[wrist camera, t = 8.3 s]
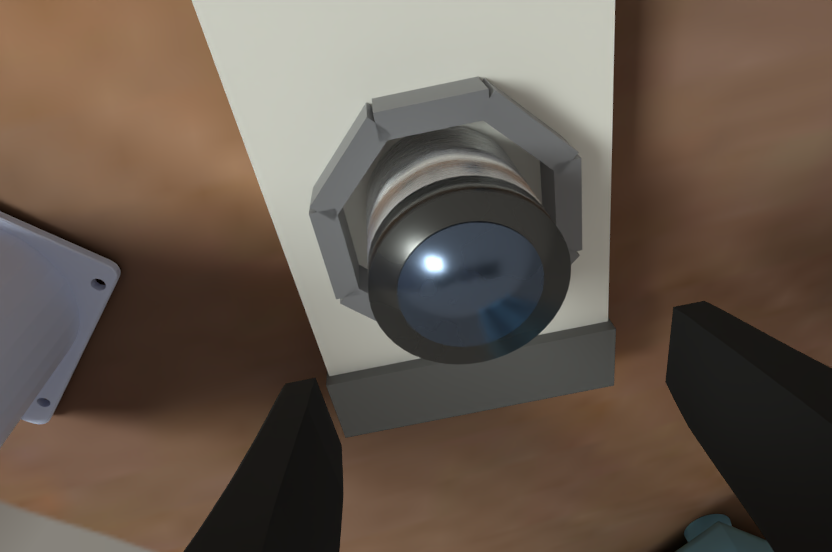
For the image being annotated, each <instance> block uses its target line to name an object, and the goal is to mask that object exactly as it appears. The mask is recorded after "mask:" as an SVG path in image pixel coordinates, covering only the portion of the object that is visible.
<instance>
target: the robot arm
mask: <svg viewBox="0 0 832 552" xmlns="http://www.w3.org/2000/svg"><path fill="white" fill-rule="evenodd" d="M120 274H121V271H120V268H119V266H118V265H117V264H116V263H115V262H113V261H111V260H109V259H107V258H105V257H102V256H100V255H98V254H96V253H93V252H91V251H89V250H87V249H84V248H82V247H80V246H78V245H75V244H73V243H71V242H69V241H66V240H64V239H62V238H59V237H57V236H55V235H53V234H50V233H48V232H46V231H44V230H41V229H39V228H37V227H35V226H32V225H30V224H28V223H25V222H23V221H21V220H19V219H16V218H14V217H12V216H10V215H7V214H5V213H3V212H1V211H0V448H1V446H2V445H3V443H4V442H5V440H6V439H7V438H8V436H9V435H10V433H11V432H12V431H13V429H14V428H15V426H16V425H17V423H18V422H19V421H20V419H22V420H25V421H28V422H31V423H34V424H45V423H47V422H48V421H49V420H50V419H51V417H52V416H53V414H54V412H55V410H56V408H57V406H58V404H59V401H60V399H61V397H62V395H63V393H64V391H65V389H66V387H67V385H68V383H69V381H70V379H71V377H72V375H73V372H74V370H75V368H76V366H77V364H78V362H79V360H80V358H81V356H82V354H83V352H84V350H85V348H86V346H87V344H88V341H89V339H90V337H91V335H92V333H93V331H94V329H95V327H96V325H97V323H98V321H99V319H100V317H101V315H102V312H103V310H104V308H105V306H106V304H107V302H108V300H109V298H110V296H111V294H112V292H113V290H114V288H115V286H116V284H117V281H118V279H119V277H120ZM95 279H101V280H102V281H104V283H105V284H106V285H102V284H99V283H98V282H97V281H96V280H95ZM666 384H667V386H668V388H669V390H670V392H671V394H672V396H673V398H674V400H675V402H676V404H677V406H678V408H679V410H680V412H681V413H682V415H683V417H684V419H685V421H686V423H687V425H688V426H689V428H690V430H691V431H692V433H693V434H694V436H695V437H696V439H697V440H698V442H699V443H700V444H701V446H702V447H703V449H704V450H705V452H706V453H707V455H708V456H709V458H710V459H711V460H712V462H713V463H714V465H715V466H716V468H717V469H718V471H719V472H720V473H721V475H722V476H723V478H724V479H725V481H726V482H727V483H728V485H729V486H730V488H731V489H732V491H733V492H734V493H735V495H736V496H737V498H738V499H739V501H740V502H741V504H742V505H743V506H744V508H745V509H746V511H747V512H748V514H749V515H750V516H751V518H752V519H753V521H754V522H755V524H756V525H757V526H758V528H759V529H760V531H761V532H762V534H763V535H764V537H765V539H766V540H767V542H768V543H769V545H770V546H771V548H772V550H773V551H774V552H832V368H830V367H828V366H826V365H824V364H822V363H820V362H818V361H816V360H814V359H812V358H810V357H808V356H807V355H805V354H803V353H801V352H799V351H797V350H795V349H793V348H791V347H789V346H788V345H786V344H784V343H782V342H780V341H778V340H776V339H775V338H773V337H771V336H769V335H767V334H765V333H764V332H762V331H760V330H758V329H756V328H754V327H753V326H751V325H749V324H747V323H745V322H743V321H742V320H740V319H738V318H736V317H734V316H732V315H731V314H729V313H727V312H725V311H723V310H721V309H719V308H717V307H716V306H714V305H712V304H710V303H708V302H705V301H702V302H696V303H691V304H686V305H681V306H676V307H673V316H672V326H671V335H670V345H669V354H668V364H667V373H666ZM44 398H45V399H44ZM46 399H47V400H46ZM342 508H343V468H342V447H341V443H340V440H339V438H338V435H337V433H336V430H335V427H334V425H333V422H332V420H331V417H330V414H329V412H328V409H327V407H326V404H325V401H324V399H323V396H322V394H321V391H320V389H319V386H318V383H317V381H316V378H312V379H307V380H302V381H297V382H292V383H286V384H285V385H284V387H283V388H282V390H281V392H280V393H279V395H278V397H277V399H276V401H275V403H274V405H273V407H272V408H271V410H270V412H269V414H268V416H267V418H266V420H265V422H264V423H263V425H262V427H261V429H260V431H259V432H258V434H257V436H256V438H255V440H254V442H253V443H252V445H251V447H250V449H249V450H248V452H247V454H246V455H245V457H244V459H243V460H242V462H241V464H240V466H239V467H238V469H237V471H236V472H235V474H234V476H233V478H232V479H231V481H230V483H229V484H228V486H227V487H226V489H225V490H224V492H223V494H222V495H221V497H220V498H219V500H218V501H217V503H216V504H215V506H214V507H213V509H212V511H211V512H210V514H209V515H208V517H207V518H206V520H205V521H204V523H203V524H202V526H201V527H200V529H199V530H198V532H197V533H196V535H195V536H194V538H193V539H192V540H191V542H190V543H189V545H188V546H187V547H186V549H185V550H184V552H339V548H340V535H341V522H342Z"/></svg>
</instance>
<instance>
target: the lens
mask: <svg viewBox="0 0 832 552" xmlns="http://www.w3.org/2000/svg"><path fill="white" fill-rule="evenodd" d="M366 227H367V265H368V296H369V302H370V306H371V310H372V312H373V315H374V318H375V319H376V321H377V323H378V325H379V326H380V328H381V329H382V331H383V332H384V333H385V334H386V336H387V337H388V338H390V339H391V340H392V341H393V342H394V343H395V344H396V345H398V346H399V347H400V348H402V349H403V350H405V351H407V352H409V353H411V354H412V355H414V356H417V357H420V358H422V359H425V360H429V361H433V362H437V363H444V364H473V363H479V362H485V361H488V360H492V359H496V358H498V357H501V356H504V355H507V354H509V353H511V352H513V351H515V350H517V349H519V348H520V347H522V346H524V345H525V344H527V343H528V342H530V341H531V340H532V339H534V338H535V337H536V336H537V335H539V334H540V333H541V332H542V331H543V330H544V329H545V328H546V327H547V326H548V324H549V323H550V322H551V321H552V320H553V319H554V317H555V316H556V314H557V313H558V311H559V310H560V308H561V306H562V304H563V302H564V300H565V297H566V294H567V291H568V288H569V283H570V278H571V261H570V254H569V250H568V247H567V244H566V242H565V239H564V237H563V235H562V233H561V232H560V230H559V229H558V227H557V226H556V225H555V223H554V222H553V220H552V219H551V217H550V216H549V214H548V213H547V211H546V210H545V208H544V207H543V206H542V204H541V203H540V201H539V200H538V198H537V197H536V195H535V194H534V192H533V191H532V189H531V188H530V187H529V185H528V184H527V182H526V181H525V179H524V178H523V176H522V175H521V173H520V172H519V170H518V169H517V168H516V166H515V165H514V163H513V162H512V160H511V159H510V157H509V156H508V154H507V153H506V152H505V150H504V149H503V148H502V147H501V146H500V145H499V144H498V143H497V142H495V141H494V140H493V139H492V138H490V137H488V136H487V135H485V134H483V133H481V132H479V131H476V130H474V129H471V128H467V127H463V126H454V127H450V128H445V129H440V130H435V131H430V132H425V133H421V134H416V135H411V136H406V137H404V138H402V139H401V140H399V141H398V142H397V143H395V144H394V145H393V146H392V147H391V148H390V149H389V150H388V151H387V152H386V153H385V154H384V155H383V156H382V157H381V159H380V160H379V161H378V163H377V165H376V166H375V168H374V170H373V172H372V174H371V177H370V179H369V183H368V187H367V193H366Z"/></svg>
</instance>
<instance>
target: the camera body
mask: <svg viewBox="0 0 832 552" xmlns="http://www.w3.org/2000/svg"><path fill="white" fill-rule="evenodd" d="M192 2H193V5H194V8H195V10H196V13H197V16H198V19H199V21H200V24H201V27H202V30H203V32H204V35H205V38H206V40H207V43H208V46H209V49H210V51H211V54H212V57H213V60H214V62H215V65H216V68H217V71H218V73H219V76H220V79H221V81H222V84H223V87H224V90H225V92H226V95H227V98H228V101H229V103H230V106H231V109H232V112H233V114H234V117H235V120H236V122H237V125H238V128H239V131H240V133H241V136H242V139H243V142H244V144H245V147H246V150H247V153H248V155H249V158H250V161H251V163H252V166H253V169H254V172H255V174H256V177H257V180H258V183H259V185H260V188H261V191H262V193H263V196H264V199H265V202H266V204H267V207H268V210H269V213H270V215H271V218H272V221H273V224H274V226H275V229H276V232H277V234H278V237H279V240H280V243H281V245H282V248H283V251H284V254H285V256H286V259H287V262H288V265H289V267H290V270H291V273H292V275H293V278H294V281H295V284H296V286H297V289H298V292H299V295H300V297H301V300H302V303H303V306H304V308H305V311H306V314H307V316H308V319H309V322H310V325H311V327H312V330H313V333H314V336H315V338H316V341H317V344H318V347H319V349H320V352H321V355H322V357H323V360H324V363H325V366H326V368H327V382H326V387H327V389H328V392H329V395H330V397H331V400H332V403H333V405H334V408H335V411H336V413H337V416H338V419H339V421H340V424H341V427H342V429H343V432H344V435H345V437H352V436H357V435H362V434H367V433H372V432H377V431H382V430H388V429H393V428H398V427H403V426H408V425H413V424H418V423H423V422H429V421H434V420H439V419H444V418H449V417H454V416H459V415H464V414H470V413H475V412H480V411H485V410H490V409H495V408H500V407H506V406H511V405H516V404H521V403H526V402H531V401H536V400H541V399H547V398H552V397H557V396H562V395H567V394H572V393H577V392H582V391H588V390H593V389H598V388H603V387H608V386H613V385H614V369H615V338H616V328H615V327H614V325H613V324H612V322H611V321H610V319H609V318H608V299H609V255H610V210H611V165H612V121H613V76H614V31H615V0H192ZM454 126H463V127H467V128H471V129H474V130H476V131H479V132H481V133H483V134H485V135H487V136H488V137H490V138H492V139H493V140H494V141H495V142H497V143H498V144H499V145H500V146H501V147H502V148H503V149H504V150H505V152H506V153H507V154H508V156H509V157H510V159H511V160H512V162H513V163H514V165H515V166H516V168H517V169H518V170H519V172H520V173H521V175H522V176H523V178H524V179H525V181H526V182H527V184H528V185H529V187H530V188H531V189H532V191H533V192H534V194H535V195H536V197H537V198H538V200H539V201H540V203H541V204H542V206H543V207H544V208H545V210H546V211H547V213H548V214H549V216H550V217H551V219H552V220H553V222H554V223H555V225H556V226H557V227H558V229H559V230H560V232H561V233H562V235H563V237H564V239H565V242H566V244H567V247H568V250H569V254H570V261H571V278H570V283H569V288H568V291H567V294H566V297H565V300H564V302H563V304H562V306H561V308H560V310H559V311H558V313H557V314H556V316H555V317H554V319H553V320H552V321H551V322H550V323H549V324H548V326H547V327H546V328H545V329H544V330H543V331H542V332H541V333H540V334H539V335H537V336H536V337H535V338H534V339H532V340H531V341H530V342H528V343H527V344H525V345H524V346H522V347H520V348H519V349H517V350H515V351H513V352H511V353H509V354H507V355H504V356H501V357H498V358H496V359H492V360H488V361H485V362H479V363H473V364H444V363H437V362H433V361H429V360H425V359H422V358H420V357H417V356H414V355H412V354H411V353H409V352H407V351H405V350H403V349H402V348H400V347H399V346H398V345H396V344H395V343H394V342H393V341H392V340H391V339H390V338H388V337H387V336H386V334H385V333H384V332H383V331H382V329H381V328H380V326H379V325H378V323H377V321H376V319H375V318H374V315H373V312H372V310H371V306H370V302H369V296H368V265H367V227H366V193H367V187H368V183H369V179H370V177H371V174H372V172H373V170H374V168H375V166H376V165H377V163H378V161H379V160H380V159H381V157H382V156H383V155H384V154H385V153H386V152H387V151H388V150H389V149H390V148H391V147H392V146H393V145H394V144H395V143H397V142H398V141H399V140H401V139H402V138H404V137H406V136H411V135H416V134H421V133H425V132H430V131H435V130H440V129H445V128H450V127H454Z"/></svg>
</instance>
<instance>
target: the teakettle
mask: <svg viewBox="0 0 832 552" xmlns="http://www.w3.org/2000/svg"><path fill="white" fill-rule="evenodd" d="M684 536H685V538H686V540H687V542H688V543H687V544H685V545H684V546H682V547H681V548H679V549H678V550H677V551H675V552H774V551H773V550H772V548H771V546H770V545H769V543H768V542H767V540H764V539H762V538H760V537H757V536H755V535H752V534H750V533H747V532H745V531H742V530H740V529H737V528H735V527H732V524H731V521H730V518H729V517H728V516H726V515H723V514H710V515H706V516H703V517H700V518H698V519H696V520H695V521H693V522H692V523H690V524H689V525H688V526H687V527H686V529H685V531H684Z"/></svg>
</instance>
